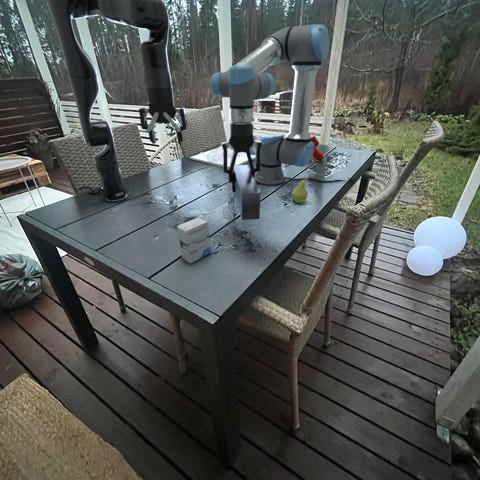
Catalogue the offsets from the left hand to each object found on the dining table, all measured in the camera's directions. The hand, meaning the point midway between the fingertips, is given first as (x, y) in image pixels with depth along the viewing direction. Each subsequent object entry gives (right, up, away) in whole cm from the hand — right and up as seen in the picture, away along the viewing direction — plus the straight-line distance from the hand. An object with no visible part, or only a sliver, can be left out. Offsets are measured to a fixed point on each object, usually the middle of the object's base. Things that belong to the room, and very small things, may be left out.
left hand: (167, 143), depth 88 cm
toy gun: (+66, +20, +87) cm, 111 cm away
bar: (+25, -18, +5) cm, 31 cm away
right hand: (+24, -13, +12) cm, 30 cm away
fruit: (+50, -14, +34) cm, 62 cm away
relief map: (+13, +22, +91) cm, 95 cm away
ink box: (+9, -36, 0) cm, 38 cm away
